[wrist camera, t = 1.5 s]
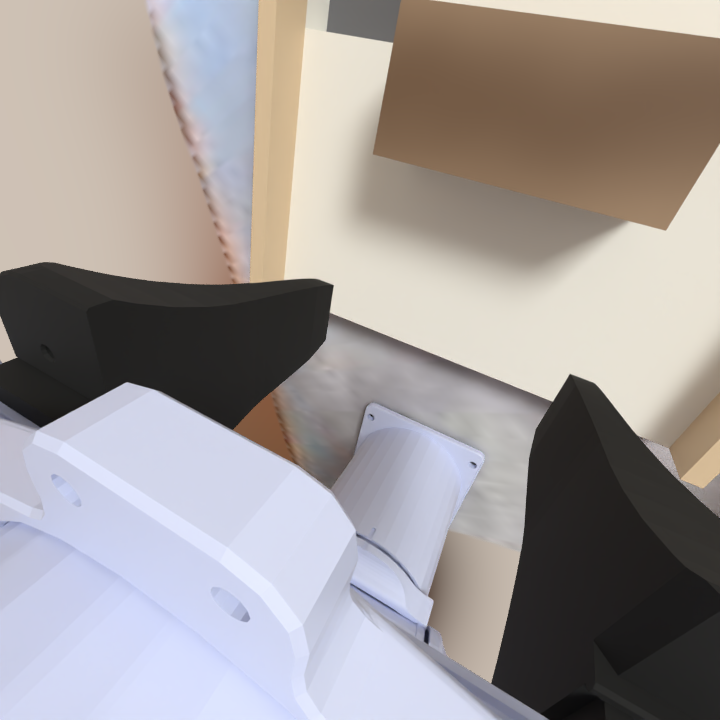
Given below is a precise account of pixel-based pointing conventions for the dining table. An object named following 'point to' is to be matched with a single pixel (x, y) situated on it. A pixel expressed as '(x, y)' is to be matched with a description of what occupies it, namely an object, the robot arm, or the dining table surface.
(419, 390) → the dining table surface
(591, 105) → the walnut block
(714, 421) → the shallow cream tray
